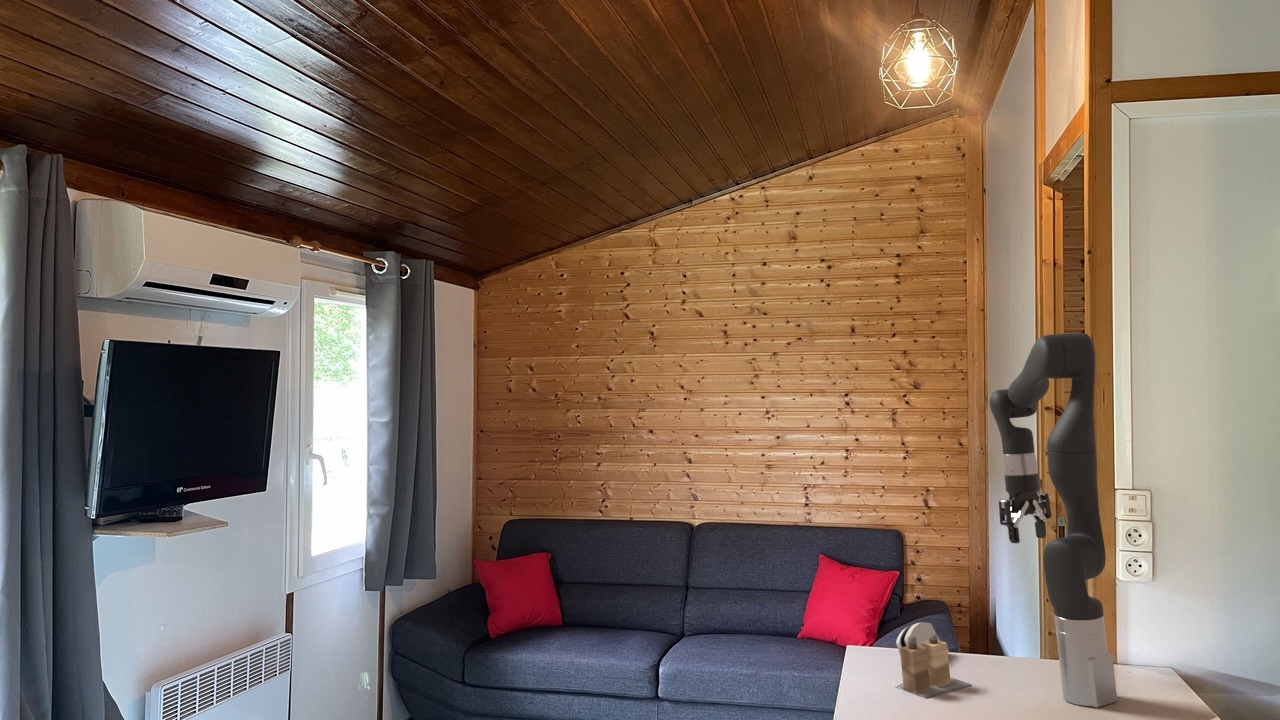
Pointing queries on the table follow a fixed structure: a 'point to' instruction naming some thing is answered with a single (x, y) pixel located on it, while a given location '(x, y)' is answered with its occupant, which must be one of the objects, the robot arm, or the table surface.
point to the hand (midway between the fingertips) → (1028, 540)
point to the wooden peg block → (937, 661)
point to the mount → (921, 672)
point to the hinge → (916, 634)
